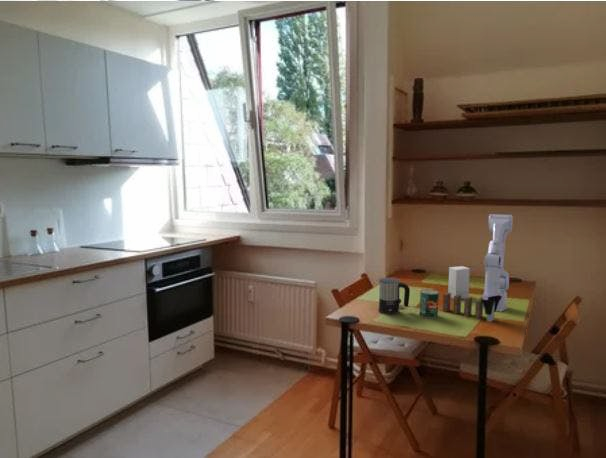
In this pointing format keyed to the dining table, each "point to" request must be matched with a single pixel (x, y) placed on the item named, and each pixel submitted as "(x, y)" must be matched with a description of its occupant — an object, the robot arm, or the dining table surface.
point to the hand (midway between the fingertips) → (490, 313)
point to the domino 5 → (491, 317)
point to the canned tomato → (429, 303)
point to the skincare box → (459, 281)
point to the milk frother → (391, 295)
